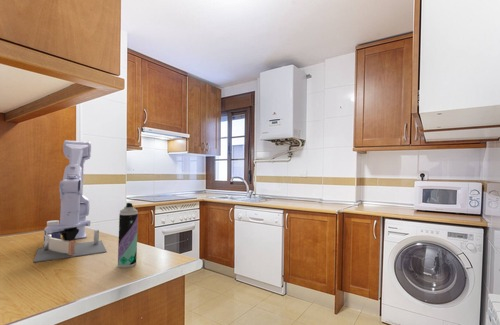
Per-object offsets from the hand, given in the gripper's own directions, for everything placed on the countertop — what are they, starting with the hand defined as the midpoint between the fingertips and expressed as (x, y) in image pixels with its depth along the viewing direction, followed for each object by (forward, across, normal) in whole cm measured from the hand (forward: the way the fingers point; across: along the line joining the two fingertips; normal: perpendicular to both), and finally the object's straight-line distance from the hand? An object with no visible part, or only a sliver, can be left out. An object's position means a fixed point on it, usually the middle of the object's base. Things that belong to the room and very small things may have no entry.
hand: (68, 249), depth 94 cm
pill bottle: (+2, +4, +16) cm, 17 cm away
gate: (+1, -1, +2) cm, 3 cm away
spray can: (+2, +1, -28) cm, 28 cm away
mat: (+2, +3, +3) cm, 4 cm away
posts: (+2, +5, +6) cm, 8 cm away
